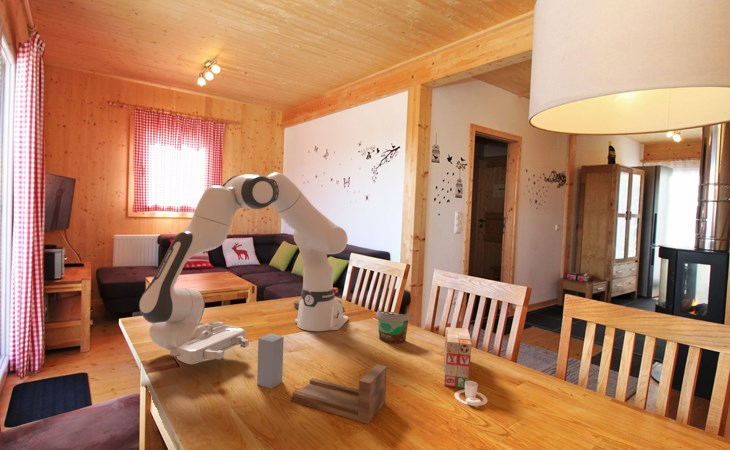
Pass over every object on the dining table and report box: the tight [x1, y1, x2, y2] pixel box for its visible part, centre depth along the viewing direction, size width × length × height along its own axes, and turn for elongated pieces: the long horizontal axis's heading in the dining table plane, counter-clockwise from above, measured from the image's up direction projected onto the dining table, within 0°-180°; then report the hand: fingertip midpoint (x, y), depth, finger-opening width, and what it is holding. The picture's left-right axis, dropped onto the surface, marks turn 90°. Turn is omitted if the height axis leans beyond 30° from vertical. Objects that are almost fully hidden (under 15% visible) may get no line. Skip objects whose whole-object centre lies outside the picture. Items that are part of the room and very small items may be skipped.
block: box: [256, 333, 285, 390], centre depth 102 cm, size 4×4×12 cm
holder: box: [290, 363, 388, 425], centre depth 94 cm, size 10×20×9 cm, turn 66°
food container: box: [375, 308, 412, 345], centre depth 137 cm, size 12×6×10 cm, turn 68°
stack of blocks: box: [443, 326, 473, 390], centre depth 114 cm, size 21×6×12 cm, turn 169°
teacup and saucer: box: [454, 380, 488, 407], centre depth 99 cm, size 9×8×4 cm
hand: (235, 349), depth 107 cm, fingers open, 8 cm apart
